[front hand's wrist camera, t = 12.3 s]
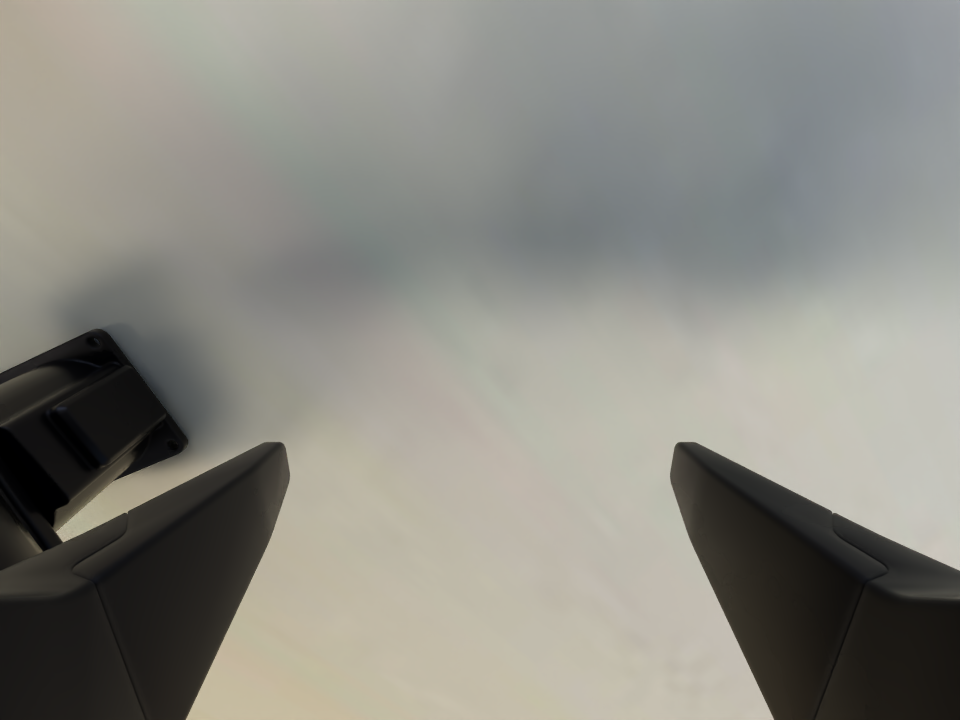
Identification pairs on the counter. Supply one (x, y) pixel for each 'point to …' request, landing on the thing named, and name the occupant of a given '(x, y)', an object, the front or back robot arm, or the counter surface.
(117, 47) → the counter surface
